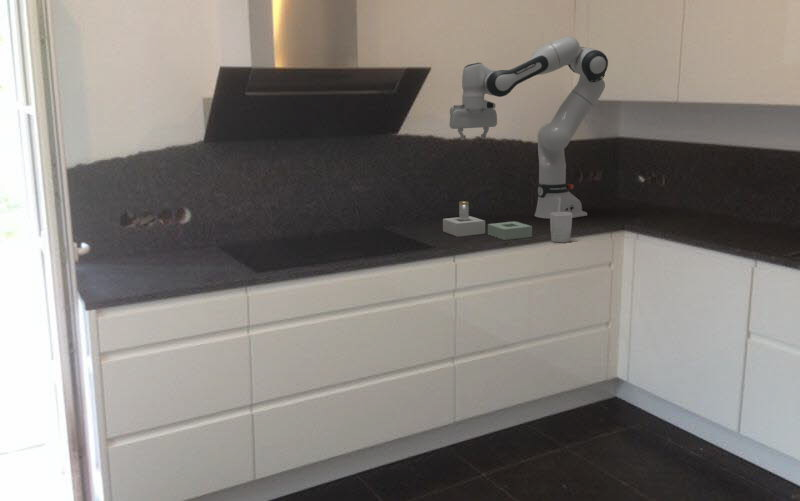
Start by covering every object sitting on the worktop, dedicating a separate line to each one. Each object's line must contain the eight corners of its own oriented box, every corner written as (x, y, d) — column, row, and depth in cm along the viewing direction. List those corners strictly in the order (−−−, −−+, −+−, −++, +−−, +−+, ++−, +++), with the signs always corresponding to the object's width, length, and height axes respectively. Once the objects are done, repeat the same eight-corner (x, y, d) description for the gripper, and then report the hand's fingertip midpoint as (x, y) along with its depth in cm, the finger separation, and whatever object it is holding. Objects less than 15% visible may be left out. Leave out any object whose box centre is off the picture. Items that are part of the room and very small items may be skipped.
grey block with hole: (470, 228, 296) (470, 216, 295) (485, 233, 285) (485, 220, 284) (443, 231, 291) (442, 218, 290) (457, 236, 281) (457, 223, 279)
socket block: (514, 231, 288) (515, 221, 287) (532, 236, 277) (532, 226, 276) (487, 234, 283) (487, 224, 282) (503, 240, 272) (504, 229, 272)
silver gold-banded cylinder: (465, 231, 291) (465, 200, 288) (470, 232, 287) (470, 202, 285) (457, 232, 289) (457, 201, 287) (462, 233, 286) (461, 202, 283)
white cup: (553, 238, 274) (554, 211, 272) (574, 239, 270) (575, 212, 268) (546, 242, 268) (546, 214, 265) (567, 243, 264) (568, 216, 261)
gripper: (453, 105, 293) (454, 141, 296) (499, 103, 300) (498, 138, 303) (446, 105, 298) (446, 140, 301) (491, 103, 306) (491, 137, 309)
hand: (473, 139), depth 302 cm, fingers open, 8 cm apart
